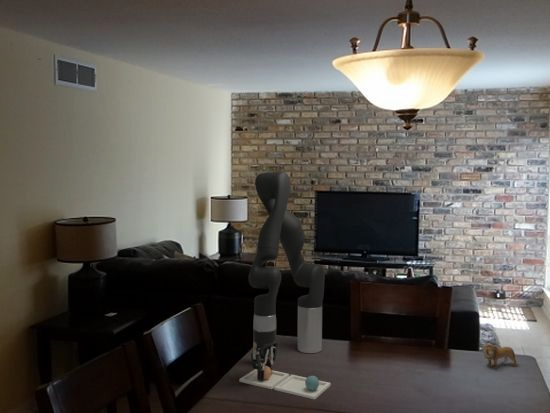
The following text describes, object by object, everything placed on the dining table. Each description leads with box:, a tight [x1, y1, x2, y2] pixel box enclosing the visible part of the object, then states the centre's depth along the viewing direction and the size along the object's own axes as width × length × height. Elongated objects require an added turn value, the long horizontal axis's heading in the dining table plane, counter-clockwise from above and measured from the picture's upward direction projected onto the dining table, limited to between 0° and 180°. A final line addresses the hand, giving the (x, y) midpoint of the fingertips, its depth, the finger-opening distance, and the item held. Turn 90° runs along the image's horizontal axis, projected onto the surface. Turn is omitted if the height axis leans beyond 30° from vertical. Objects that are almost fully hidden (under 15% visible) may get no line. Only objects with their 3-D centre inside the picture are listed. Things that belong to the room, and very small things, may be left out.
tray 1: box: [238, 369, 290, 390], centre depth 185 cm, size 12×12×1 cm
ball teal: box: [305, 375, 320, 390], centre depth 177 cm, size 4×4×4 cm
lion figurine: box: [482, 342, 518, 370], centre depth 199 cm, size 15×5×9 cm, turn 113°
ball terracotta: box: [264, 366, 271, 379], centre depth 185 cm, size 4×4×4 cm
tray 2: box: [273, 374, 332, 400], centre depth 178 cm, size 12×14×1 cm
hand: (264, 377), depth 185 cm, fingers closed on ball terracotta, 4 cm apart
